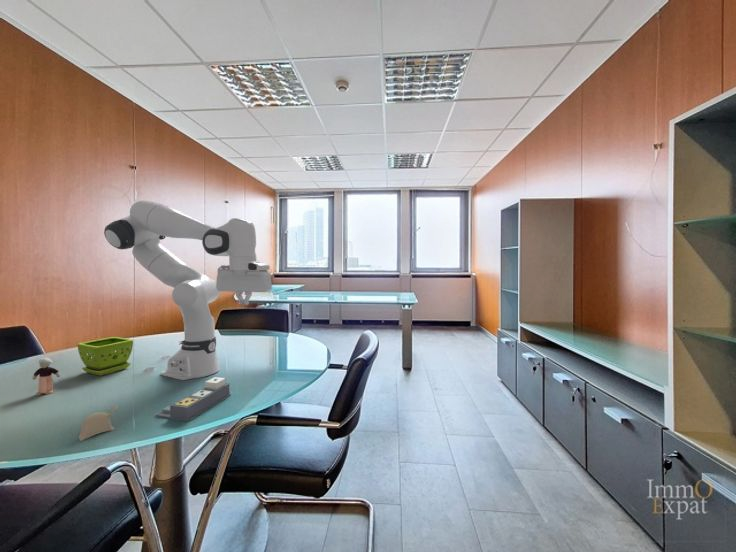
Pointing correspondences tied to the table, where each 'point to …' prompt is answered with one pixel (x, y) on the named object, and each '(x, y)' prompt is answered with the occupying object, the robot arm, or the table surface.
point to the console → (195, 405)
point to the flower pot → (105, 355)
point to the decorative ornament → (96, 424)
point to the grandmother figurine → (45, 376)
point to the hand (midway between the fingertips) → (243, 304)
